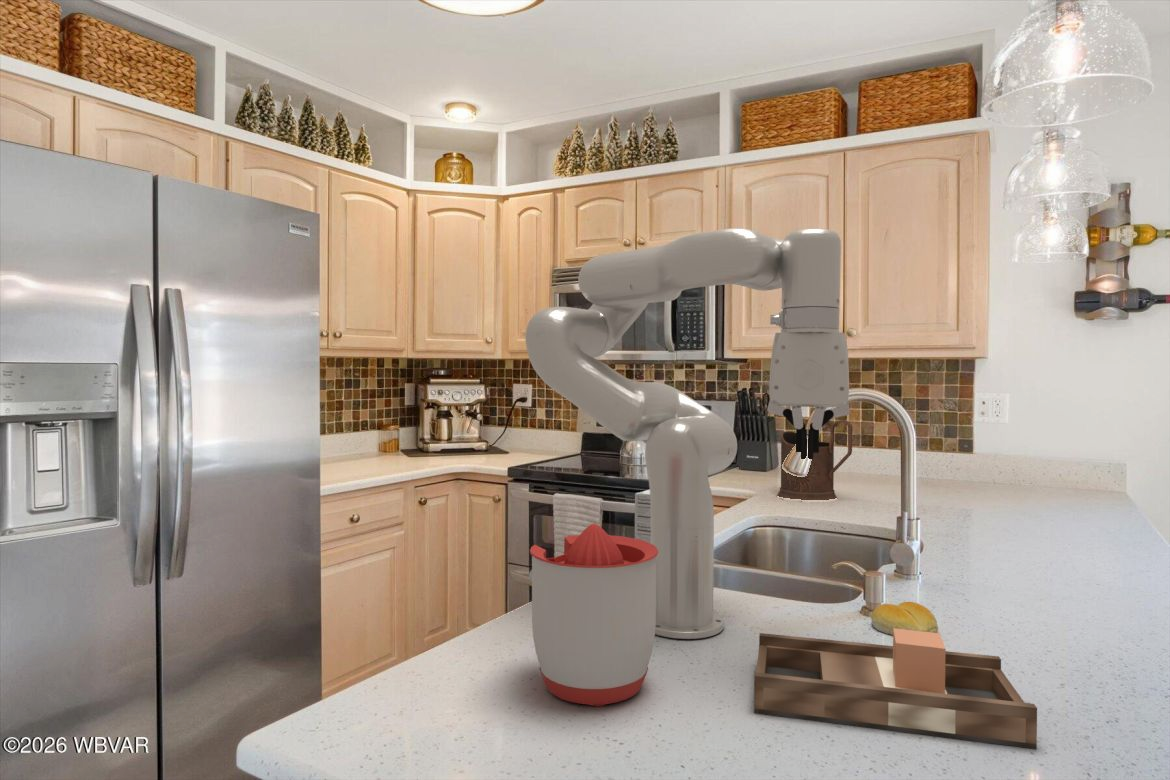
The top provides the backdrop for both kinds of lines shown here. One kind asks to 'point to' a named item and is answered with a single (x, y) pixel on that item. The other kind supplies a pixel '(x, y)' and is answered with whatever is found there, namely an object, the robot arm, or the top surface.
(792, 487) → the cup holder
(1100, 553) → the top surface
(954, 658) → the board
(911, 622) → the bread roll
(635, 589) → the citrus juicer
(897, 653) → the block
